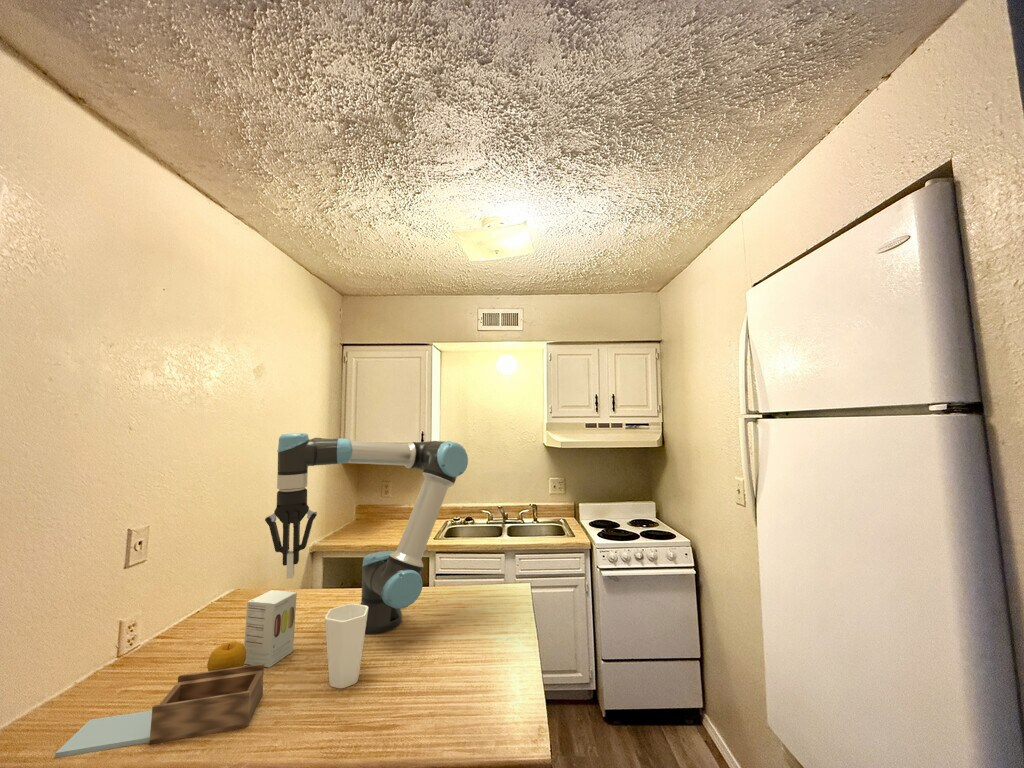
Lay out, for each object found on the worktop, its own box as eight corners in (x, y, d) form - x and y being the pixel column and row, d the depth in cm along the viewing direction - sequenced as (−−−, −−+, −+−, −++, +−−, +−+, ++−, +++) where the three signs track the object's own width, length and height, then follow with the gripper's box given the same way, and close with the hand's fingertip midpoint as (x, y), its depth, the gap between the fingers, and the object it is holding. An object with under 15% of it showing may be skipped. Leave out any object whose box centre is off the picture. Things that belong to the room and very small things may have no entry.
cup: (374, 673, 113) (376, 607, 115) (348, 696, 103) (351, 623, 105) (340, 666, 117) (343, 601, 118) (312, 687, 107) (316, 616, 109)
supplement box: (269, 668, 115) (273, 604, 117) (241, 664, 117) (245, 601, 119) (294, 650, 125) (297, 591, 126) (267, 647, 126) (271, 588, 128)
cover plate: (173, 713, 98) (174, 706, 98) (149, 744, 88) (150, 737, 88) (89, 726, 94) (90, 719, 94) (54, 761, 84) (55, 753, 84)
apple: (214, 694, 104) (217, 656, 105) (199, 683, 109) (201, 647, 110) (251, 676, 111) (253, 641, 112) (235, 667, 116) (237, 633, 117)
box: (262, 694, 104) (264, 663, 105) (247, 727, 93) (249, 692, 93) (176, 707, 99) (179, 675, 100) (149, 744, 88) (152, 707, 88)
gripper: (319, 485, 122) (318, 569, 120) (269, 488, 118) (267, 575, 116) (316, 489, 115) (314, 578, 113) (262, 493, 111) (259, 585, 109)
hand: (290, 576), depth 115 cm, fingers closed
